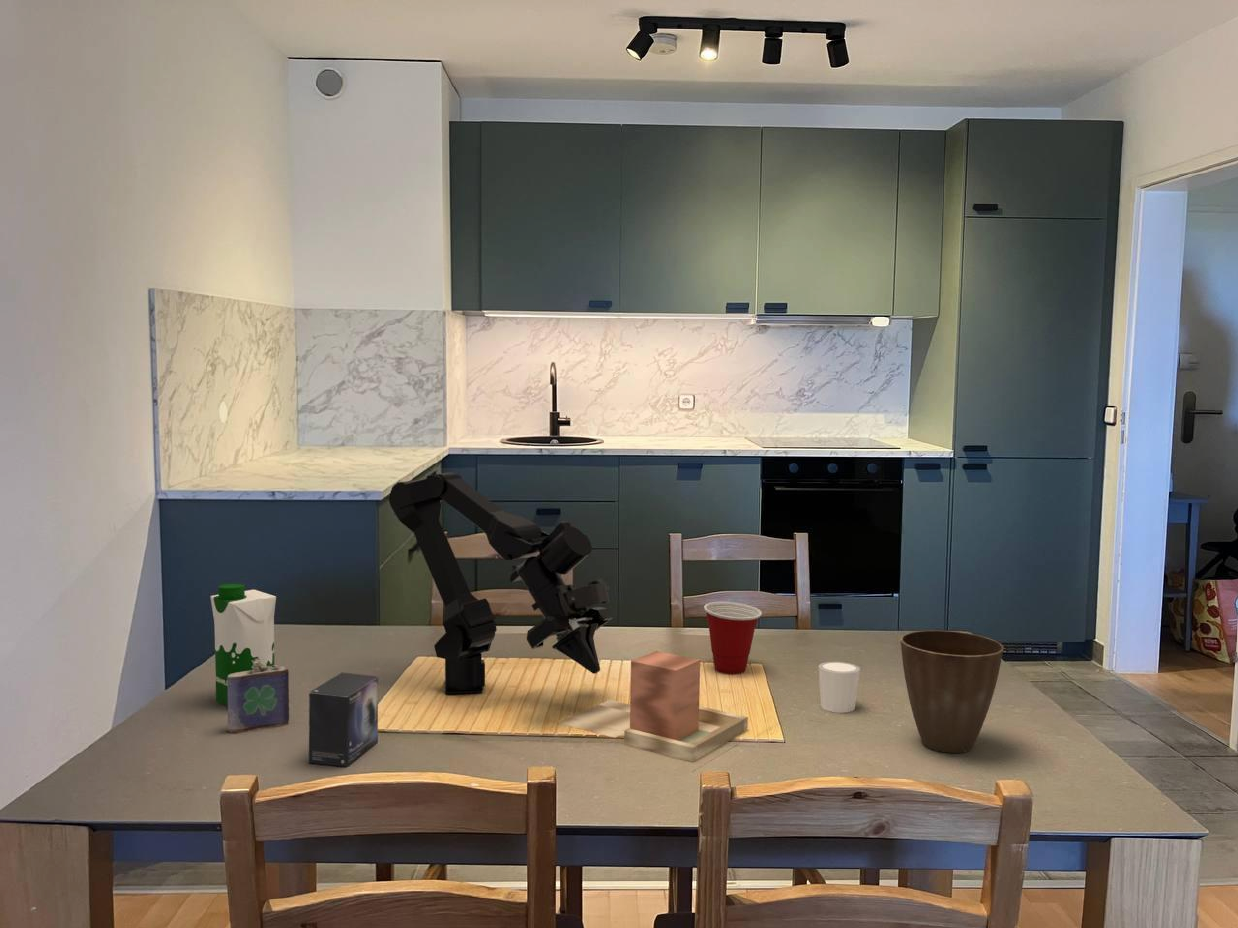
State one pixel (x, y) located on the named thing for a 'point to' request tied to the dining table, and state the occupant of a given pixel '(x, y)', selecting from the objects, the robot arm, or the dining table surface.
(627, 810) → the dining table surface
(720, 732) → the shallow open box
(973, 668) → the plant pot
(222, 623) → the milk carton
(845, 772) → the dining table surface
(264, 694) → the flask
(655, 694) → the block
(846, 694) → the white tapered cylinder
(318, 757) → the small box
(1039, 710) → the dining table surface
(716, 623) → the plastic cup
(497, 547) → the robot arm
